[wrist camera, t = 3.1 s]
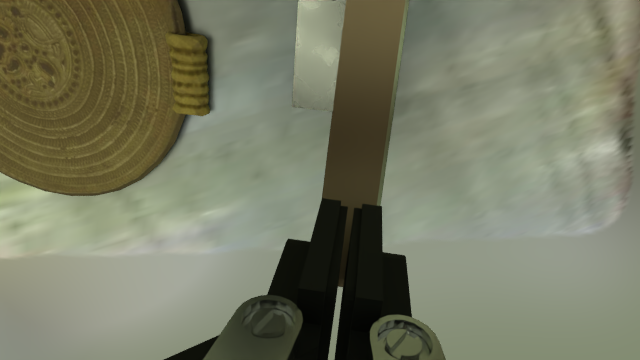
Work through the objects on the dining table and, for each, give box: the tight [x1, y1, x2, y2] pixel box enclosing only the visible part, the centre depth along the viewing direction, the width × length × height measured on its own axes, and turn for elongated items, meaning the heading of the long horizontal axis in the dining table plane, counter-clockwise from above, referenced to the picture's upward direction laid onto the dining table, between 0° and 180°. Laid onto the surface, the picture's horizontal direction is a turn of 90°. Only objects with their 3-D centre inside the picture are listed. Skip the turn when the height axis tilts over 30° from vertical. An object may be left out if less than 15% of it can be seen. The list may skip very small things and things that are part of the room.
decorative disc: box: [0, 0, 210, 196], centre depth 36 cm, size 29×3×30 cm
